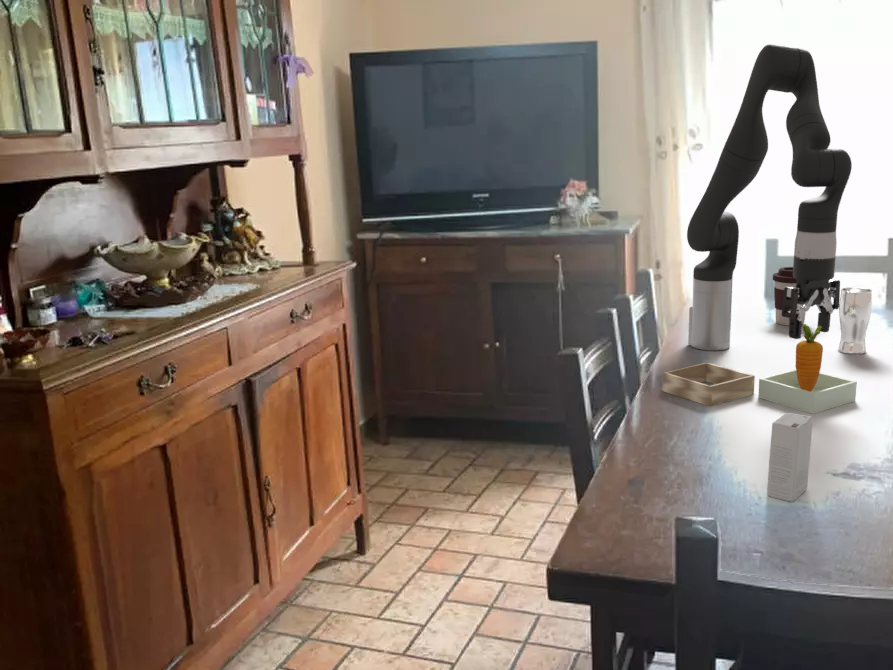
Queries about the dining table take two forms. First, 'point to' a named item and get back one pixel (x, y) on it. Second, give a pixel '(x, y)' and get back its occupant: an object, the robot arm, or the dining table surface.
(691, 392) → the birch frame
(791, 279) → the coffee cup
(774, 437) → the skincare box
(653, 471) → the dining table surface
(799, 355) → the carrot
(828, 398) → the green tray
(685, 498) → the dining table surface
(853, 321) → the beer glass
